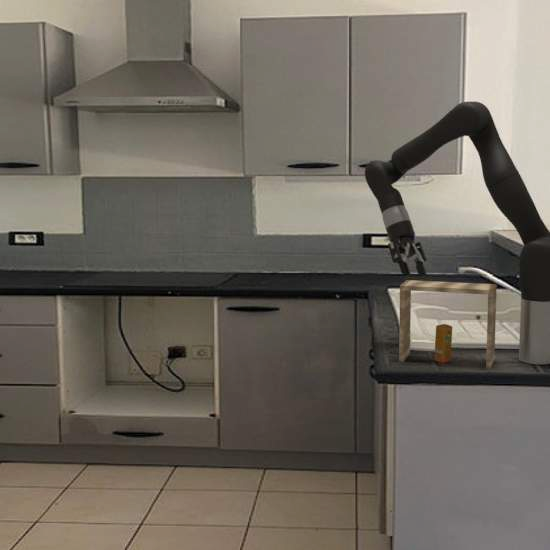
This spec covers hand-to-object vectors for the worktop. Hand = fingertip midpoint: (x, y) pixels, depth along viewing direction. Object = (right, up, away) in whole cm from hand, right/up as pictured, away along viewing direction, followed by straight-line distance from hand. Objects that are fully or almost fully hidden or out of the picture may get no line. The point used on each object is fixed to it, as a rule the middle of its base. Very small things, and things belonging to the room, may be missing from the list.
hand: (415, 276), depth 238 cm
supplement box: (+6, -23, -11) cm, 26 cm away
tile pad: (+4, -21, +6) cm, 22 cm away
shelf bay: (+7, -23, -11) cm, 27 cm away
